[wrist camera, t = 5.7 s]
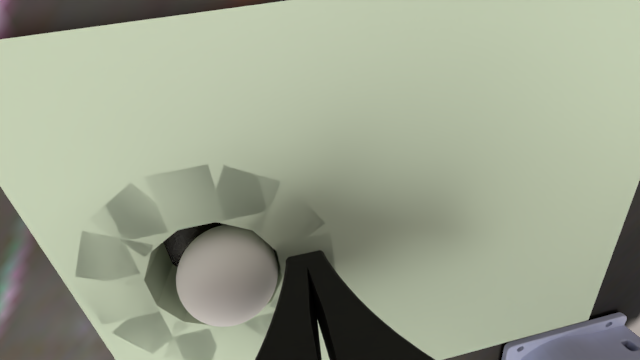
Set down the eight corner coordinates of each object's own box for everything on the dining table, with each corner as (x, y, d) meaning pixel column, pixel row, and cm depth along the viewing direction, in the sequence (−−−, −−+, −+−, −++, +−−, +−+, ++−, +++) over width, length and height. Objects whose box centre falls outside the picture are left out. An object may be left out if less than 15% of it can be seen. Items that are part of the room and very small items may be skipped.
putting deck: (642, -43, 12) (727, -60, 10) (552, 288, 20) (588, 320, 18) (-11, 47, 10) (-90, 51, 8) (177, 384, 18) (165, 434, 16)
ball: (211, 217, 15) (291, 229, 15) (196, 301, 15) (278, 315, 14) (165, 218, 11) (274, 235, 11) (143, 333, 11) (254, 354, 10)
